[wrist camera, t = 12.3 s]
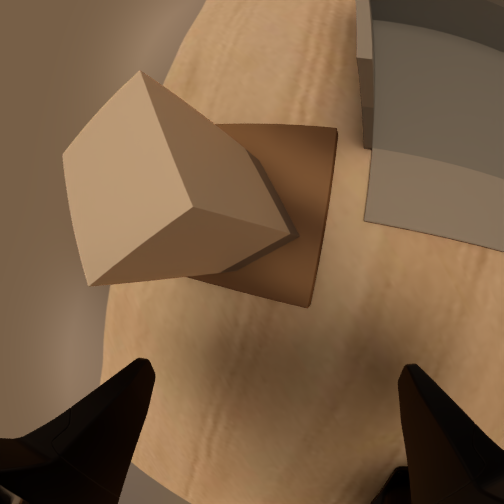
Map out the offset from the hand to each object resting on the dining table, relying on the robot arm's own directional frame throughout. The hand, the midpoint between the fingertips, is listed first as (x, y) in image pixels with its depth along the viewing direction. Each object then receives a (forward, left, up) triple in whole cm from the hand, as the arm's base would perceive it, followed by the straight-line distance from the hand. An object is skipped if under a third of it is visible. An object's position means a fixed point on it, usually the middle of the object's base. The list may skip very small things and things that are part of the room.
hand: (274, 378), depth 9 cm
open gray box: (+16, -14, -10) cm, 24 cm away
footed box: (+6, +6, -9) cm, 13 cm away
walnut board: (+6, +7, -10) cm, 14 cm away
